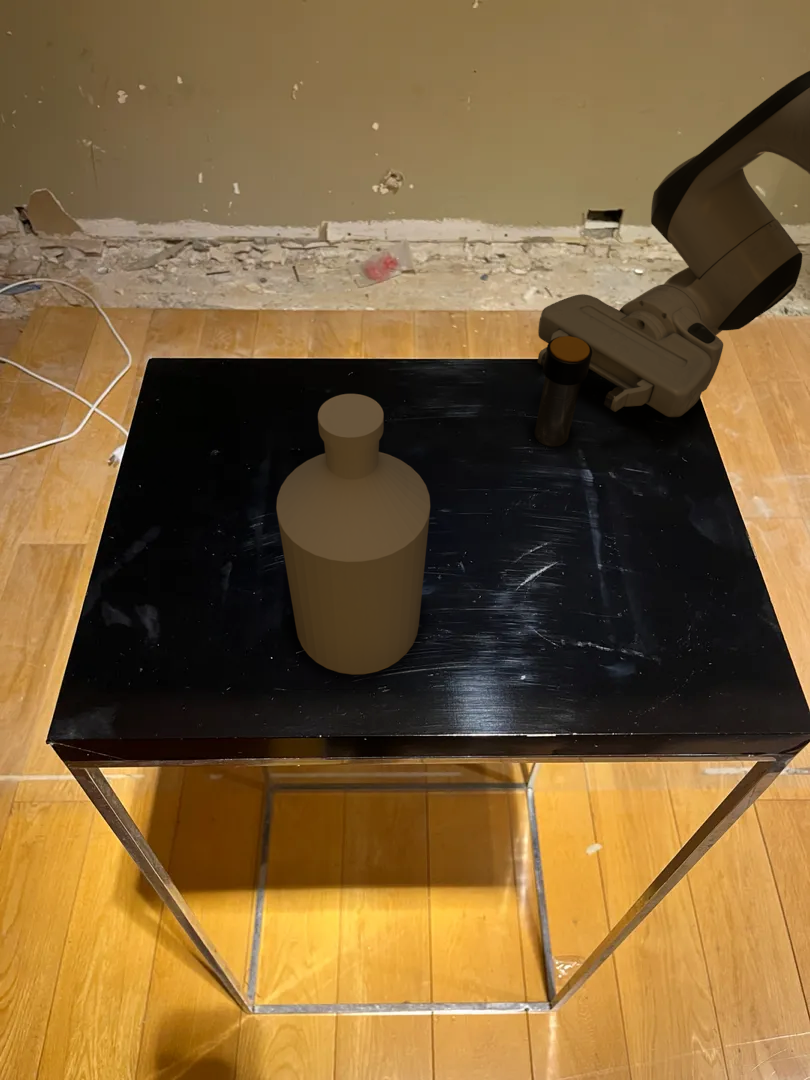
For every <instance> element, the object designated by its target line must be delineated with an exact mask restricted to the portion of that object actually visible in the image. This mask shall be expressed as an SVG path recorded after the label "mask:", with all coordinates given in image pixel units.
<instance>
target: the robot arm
mask: <svg viewBox="0 0 810 1080" xmlns="http://www.w3.org/2000/svg"><path fill="white" fill-rule="evenodd" d="M765 153H770V154H774V155H776V156H779V157H781V158H783V159H786V160H787V161H789V162H791V163H792V164H794V165H796V166H797V167H798V168H801V169H802V170H803V171H804V172H806V173H807V174H808V175H810V70H808V71H806V72H804V73H802V74H800V75H799V76H797V77H796V78H794V79H793V80H790V82H788V83H786V84H785V85H783V86H782V87H781V88H779V89H778V90H777V91H775V92H774V93H773V94H771V95H769V97H767V98H766V99H765V100H764V101H762V102H761V103H760V104H758V105H757V106H756V107H754V108H753V109H752V110H751V111H750V112H748V113H747V114H746V115H744V116H743V117H742V118H741V119H739V120H738V121H737V122H736V123H735V124H734V125H732V126H731V127H730V128H729V129H728V130H726V131H725V132H723V134H721V135H720V136H718V138H716V139H715V140H714V141H713V142H711V143H710V144H709V145H708V146H707V147H706V148H704V149H702V151H701V152H699V153H698V154H696V155H694V156H692V157H690V158H688V159H687V160H685V161H683V162H682V163H680V164H679V165H677V166H676V167H675V168H674V169H672V170H671V171H670V172H669V173H668V174H667V175H666V176H665V177H664V178H663V179H662V181H660V183H659V184H658V186H657V187H656V189H654V192H653V195H652V200H651V207H650V208H651V209H650V224H651V225H652V226H653V227H654V228H655V229H656V230H657V232H658V233H659V234H660V235H661V236H662V237H663V238H664V239H665V240H666V241H667V242H668V243H669V244H670V245H671V246H672V247H673V248H674V249H675V251H676V252H677V253H678V255H679V256H680V258H681V259H682V260H683V261H684V262H685V264H686V265H687V267H686V268H684V269H682V270H680V271H678V272H676V273H674V274H673V275H671V277H669V278H668V279H667V280H666V281H664V283H663V284H659V285H656V286H653V287H651V288H650V289H648V290H646V291H645V292H643V293H642V294H639V296H636V297H635V298H633V299H631V300H630V301H628V302H627V303H625V304H623V306H621V307H620V308H619V309H617V308H615V307H614V306H612V305H609V304H608V303H605V302H604V301H602V300H601V299H600V298H598V297H595V296H592V295H590V294H586V293H580V294H576V295H572V296H568V297H565V298H563V299H560V300H558V301H555V302H553V303H551V304H550V305H549V304H548V305H547V306H545V307H544V308H543V309H542V311H541V313H540V317H539V321H538V332H537V333H538V338H539V339H540V340H541V341H543V342H545V343H546V344H548V343H549V342H550V341H551V340H553V339H554V338H557V337H561V336H571V337H576V338H579V339H581V340H583V341H585V342H586V343H588V344H589V346H590V347H591V349H592V357H591V361H590V365H589V369H588V370H591V371H592V372H594V373H595V374H596V375H599V376H601V378H604V379H605V380H607V381H608V382H610V383H611V384H613V385H615V386H616V387H614V388H613V389H612V390H609V391H608V392H607V393H606V395H605V398H604V401H603V405H604V407H606V408H608V409H610V410H611V411H613V412H614V413H616V412H618V411H619V410H622V408H623V407H625V408H626V407H640V406H641V407H642V406H643V405H645V404H646V405H648V406H649V407H651V408H652V409H654V410H655V411H657V412H659V413H660V414H662V415H664V416H665V417H668V418H680V417H682V416H683V415H684V414H686V413H687V412H689V410H691V409H692V408H693V407H694V406H695V405H696V404H697V403H698V401H699V400H700V398H701V395H702V394H703V392H705V391H706V390H707V389H708V388H709V386H710V384H711V382H712V380H713V378H714V376H715V373H716V371H717V369H718V366H719V362H720V360H721V356H722V354H723V349H724V342H723V340H722V339H720V337H719V336H717V335H719V334H720V333H722V332H723V331H726V332H727V331H736V330H740V329H742V328H744V327H746V326H747V325H748V324H750V323H751V322H753V321H755V319H756V318H757V317H759V316H761V315H762V314H764V313H766V312H767V311H769V310H771V309H772V308H773V307H775V306H776V305H777V304H778V303H780V302H781V301H782V300H783V299H785V297H787V296H788V295H789V293H791V292H792V290H794V289H795V287H796V285H797V282H798V279H799V278H800V277H799V276H800V272H801V270H802V265H803V264H802V263H803V253H802V252H801V250H800V249H799V247H798V245H797V244H796V242H795V241H794V239H793V238H792V237H791V236H790V234H789V233H788V232H787V231H786V229H785V228H784V226H783V225H782V224H781V222H780V221H779V220H778V219H776V217H775V216H774V214H773V213H772V212H771V211H770V210H769V208H768V207H767V206H766V204H765V202H764V201H763V200H762V199H761V198H760V196H759V195H758V194H757V193H756V191H755V190H754V189H753V187H752V186H751V185H750V182H749V181H748V179H747V177H746V175H745V171H744V168H746V167H747V166H749V165H750V164H751V163H752V162H754V161H755V160H758V158H759V157H762V155H764V154H765ZM546 350H547V346H546V347H545V348H543V349H541V350H540V351H539V353H538V356H537V364H539V365H540V366H542V367H543V365H544V360H545V355H546Z"/></svg>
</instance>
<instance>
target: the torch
mask: <svg viewBox="0 0 810 1080" xmlns="http://www.w3.org/2000/svg"><path fill="white" fill-rule="evenodd" d="M546 347H547V350H546V355H545V360H544V365H543V366H542V371H543V374H544V381H543V387H542V392H541V397H540V401H539V406H538V411H537V417H536V422H535V427H534V435H533V436H534V438H535V439H536V440H537V442H538V443H540V444H542V445H543V446H546V447H551V448H552V447H553V448H556V447H560V446H563V445H564V444H566V443H567V441H568V440H569V435H570V432H571V428H572V423H573V420H574V415H575V411H576V406H577V402H578V397H579V394H580V391H581V390H580V389H581V386H582V383H583V382H584V381H585V380H586V379H587V377H588V373H589V370H590V369H589V365H590V361H591V357H592V349H591V347H590V346H589V344H588V343H586V342H585V341H583V340H581V339H579V338H576V337H571V336H561V337H557V338H554V339H553V340H551V341H550V342H549V343H547V345H546Z"/></svg>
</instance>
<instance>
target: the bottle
mask: <svg viewBox="0 0 810 1080" xmlns="http://www.w3.org/2000/svg"><path fill="white" fill-rule="evenodd" d="M384 415H385V414H384V410H383V408H382V406H381V405H380V403H379V402H377V401H376V400H375V399H373V398H372V397H369V396H367V395H364V394H358V393H344V394H338V395H335V396H333V397H331V398H329V399H327V400H326V401H324V402H323V403H322V404H321V406H320V407H319V410H318V412H317V425H318V433H319V436H320V438H321V440H322V441H323V444H324V445H323V446H324V453H321V454H319V455H316V456H314V457H312V458H310V459H307V460H306V461H304V462H303V463H301V464H300V465H298V466H297V467H296V468H294V470H292V472H290V474H288V475H287V476H286V478H285V480H284V481H283V483H282V484H281V486H280V488H279V491H278V494H277V496H276V508H275V509H276V510H275V511H276V515H277V521H278V527H279V533H280V534H279V535H280V540H281V546H282V553H283V557H284V564H285V569H286V570H285V571H286V577H287V582H288V588H289V594H290V600H291V606H292V611H293V618H294V623H295V631H296V636H297V639H298V641H299V644H300V646H301V647H302V649H303V650H304V652H305V653H306V654H307V655H308V657H310V658H311V659H312V660H313V661H314V662H315V663H316V664H318V665H320V666H322V667H324V668H325V669H326V670H327V669H328V670H330V671H332V672H333V671H334V672H336V673H340V674H346V675H367V674H368V675H369V674H372V673H376V672H380V671H382V670H384V669H387V668H389V667H391V666H393V665H394V664H396V663H398V662H399V661H400V660H401V659H402V658H404V656H406V655H407V653H409V651H410V649H411V648H412V647H413V645H414V643H415V642H416V638H417V637H418V632H419V627H420V617H421V616H420V615H421V607H422V597H423V585H424V575H425V565H426V555H427V546H428V536H429V535H428V533H429V525H430V513H431V497H430V493H429V490H428V487H427V485H426V483H425V482H424V480H423V479H422V477H421V476H420V474H419V473H418V472H417V471H416V470H414V468H413V467H412V466H410V465H408V464H407V463H406V462H404V461H403V460H401V459H400V458H397V457H396V456H392V455H391V454H388V453H384V452H381V451H380V449H379V448H380V440H381V438H382V437H383V434H384V429H385V428H384V427H385V426H384V425H385V423H384V420H385V419H384V418H385V417H384Z"/></svg>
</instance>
